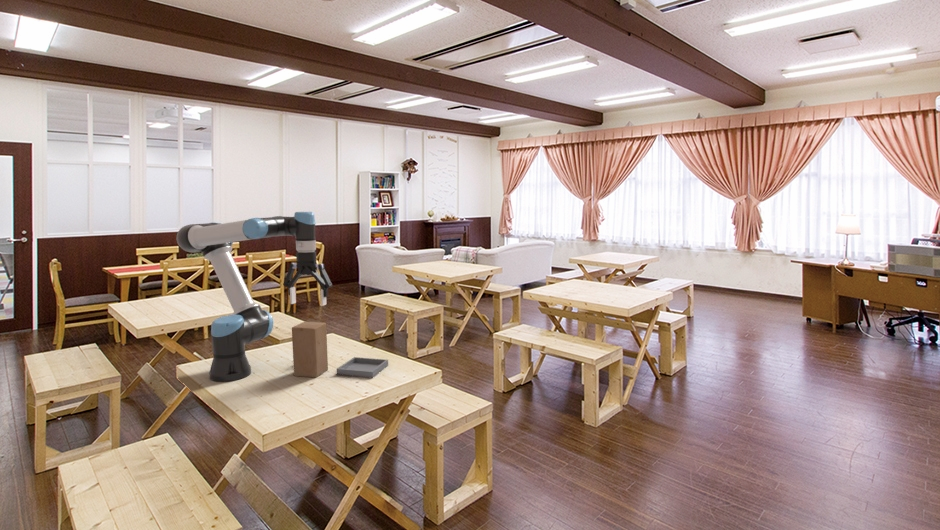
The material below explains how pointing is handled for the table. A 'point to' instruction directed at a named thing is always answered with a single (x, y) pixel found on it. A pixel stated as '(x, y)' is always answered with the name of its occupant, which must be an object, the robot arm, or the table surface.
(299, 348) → the wooden block
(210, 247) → the robot arm
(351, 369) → the tray
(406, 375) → the table surface
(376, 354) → the table surface
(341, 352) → the table surface
